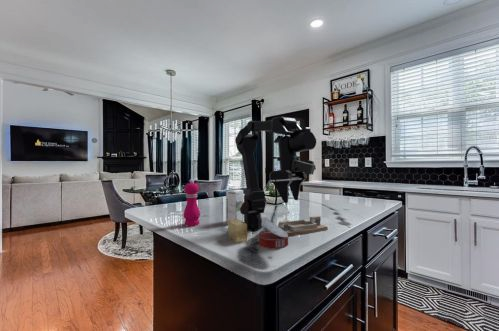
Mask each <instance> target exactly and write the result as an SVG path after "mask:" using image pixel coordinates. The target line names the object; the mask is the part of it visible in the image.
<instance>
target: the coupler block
mask: <svg viewBox="0 0 499 331" xmlns="http://www.w3.org/2000/svg"><path fill="white" fill-rule="evenodd" d="M227 236H228V238H229V237H230V239H231V240H232V241H233V242H235V244H238V243H244V242H245V243H246V242H248V230H247V224H246V223H244V221H240V220H239V219H236V220H228V222H227Z"/></svg>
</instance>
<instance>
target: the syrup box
mask: <svg viewBox="0 0 499 331" xmlns="http://www.w3.org/2000/svg"><path fill="white" fill-rule="evenodd" d="M225 194H226V195H225V200H226V201H225V202H226V203H225V205H226V206H225V210H226V212H225V217H226V218H225V219H226V220H225V222H226V223H228V220H236V219H239V220H240V221H242V222H244V214H241V212H240V208H241V206H242V204H243V203H244V190H243V189H238V188H237V189H229V190H226V191H225Z"/></svg>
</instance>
